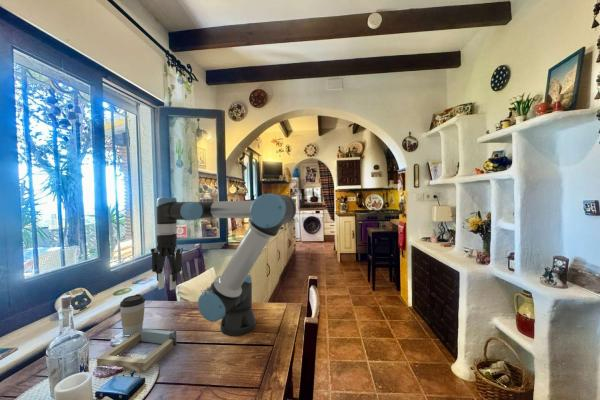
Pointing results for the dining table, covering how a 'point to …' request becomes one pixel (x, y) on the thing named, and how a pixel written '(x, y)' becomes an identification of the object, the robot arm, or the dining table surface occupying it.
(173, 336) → the pin
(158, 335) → the leg
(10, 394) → the dining table surface
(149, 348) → the dining table surface
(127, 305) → the coffee cup
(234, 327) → the robot arm
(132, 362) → the frame
